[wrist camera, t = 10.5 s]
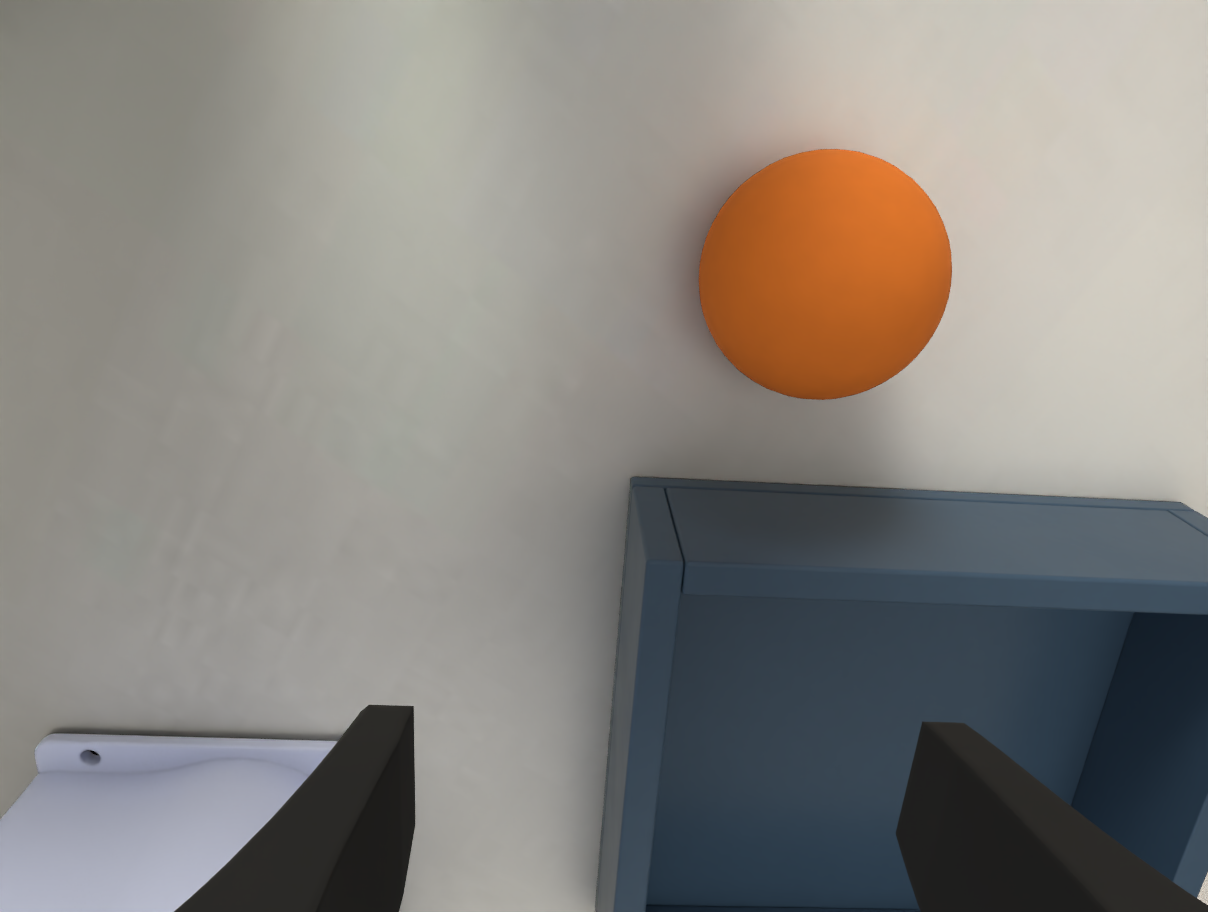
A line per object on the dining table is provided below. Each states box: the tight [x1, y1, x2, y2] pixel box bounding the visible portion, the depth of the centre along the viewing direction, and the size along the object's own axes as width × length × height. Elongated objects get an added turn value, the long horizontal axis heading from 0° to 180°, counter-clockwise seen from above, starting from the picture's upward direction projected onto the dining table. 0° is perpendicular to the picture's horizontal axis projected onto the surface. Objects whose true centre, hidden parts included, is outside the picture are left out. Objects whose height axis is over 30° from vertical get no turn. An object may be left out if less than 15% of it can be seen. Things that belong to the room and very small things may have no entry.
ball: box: [699, 149, 952, 400], centre depth 18 cm, size 5×5×5 cm
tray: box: [595, 477, 1208, 912], centre depth 23 cm, size 15×15×5 cm
